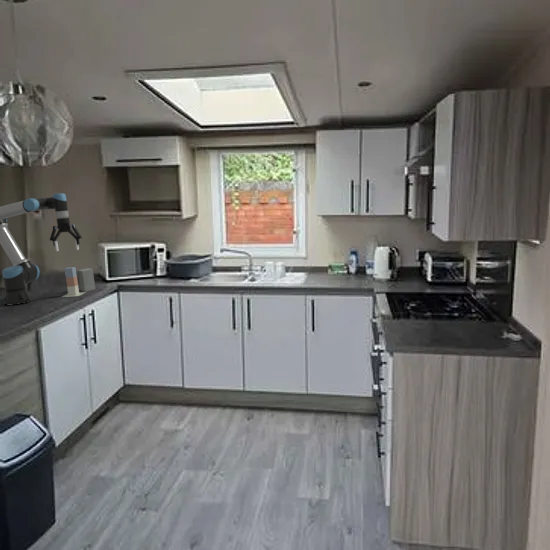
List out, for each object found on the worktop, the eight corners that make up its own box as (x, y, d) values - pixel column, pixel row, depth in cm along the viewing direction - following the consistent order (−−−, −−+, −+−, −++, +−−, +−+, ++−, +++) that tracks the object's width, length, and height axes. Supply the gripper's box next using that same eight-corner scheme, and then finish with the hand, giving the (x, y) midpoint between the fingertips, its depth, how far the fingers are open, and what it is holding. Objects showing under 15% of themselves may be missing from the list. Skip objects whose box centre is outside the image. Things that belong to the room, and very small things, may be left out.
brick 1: (65, 277, 316) (64, 268, 315) (69, 276, 321) (68, 267, 320) (73, 277, 316) (72, 268, 315) (76, 275, 321) (75, 266, 320)
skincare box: (91, 290, 339) (87, 267, 336) (96, 290, 334) (93, 268, 332) (79, 292, 333) (76, 269, 330) (85, 293, 328) (81, 270, 325)
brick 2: (67, 286, 317) (66, 277, 316) (70, 285, 322) (69, 276, 321) (74, 286, 317) (73, 277, 316) (78, 284, 322) (76, 275, 321)
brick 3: (68, 295, 318) (67, 286, 317) (71, 293, 323) (70, 285, 322) (75, 295, 318) (74, 286, 317) (79, 293, 323) (77, 284, 322)
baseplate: (61, 298, 315) (60, 297, 315) (69, 294, 327) (69, 293, 327) (79, 297, 315) (78, 295, 314) (86, 293, 327) (86, 292, 326)
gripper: (40, 219, 309) (45, 252, 312) (79, 216, 307) (83, 249, 311) (46, 218, 316) (51, 250, 320) (84, 216, 315) (88, 248, 319)
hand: (67, 250), depth 315 cm, fingers open, 13 cm apart
